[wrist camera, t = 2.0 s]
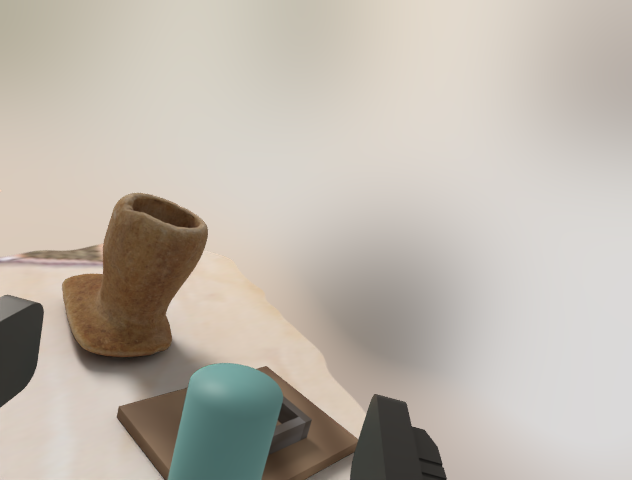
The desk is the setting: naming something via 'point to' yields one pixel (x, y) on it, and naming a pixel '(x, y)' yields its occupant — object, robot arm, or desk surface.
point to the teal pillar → (226, 424)
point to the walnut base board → (287, 443)
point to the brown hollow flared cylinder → (135, 278)
